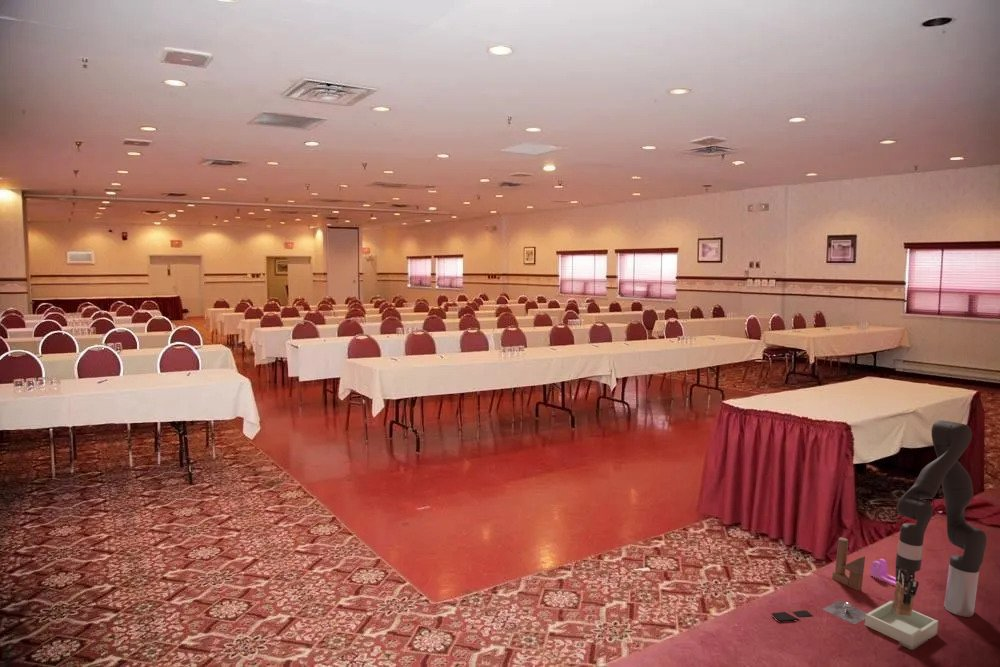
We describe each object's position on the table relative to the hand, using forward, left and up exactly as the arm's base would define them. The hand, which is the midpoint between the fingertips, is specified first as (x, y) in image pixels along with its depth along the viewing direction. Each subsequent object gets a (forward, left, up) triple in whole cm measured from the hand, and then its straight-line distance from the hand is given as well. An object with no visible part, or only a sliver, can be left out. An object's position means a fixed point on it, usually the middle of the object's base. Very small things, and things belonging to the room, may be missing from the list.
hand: (903, 600), depth 239 cm
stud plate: (+6, -16, -11) cm, 21 cm away
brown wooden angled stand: (-16, -28, -12) cm, 34 cm away
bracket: (-35, -20, -12) cm, 42 cm away
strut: (0, 0, -4) cm, 4 cm away
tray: (0, 0, -11) cm, 11 cm away
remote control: (+25, -25, -12) cm, 38 cm away
